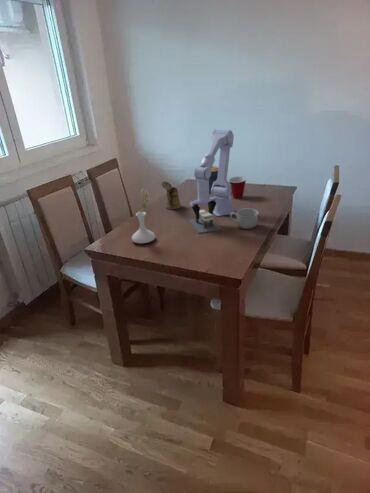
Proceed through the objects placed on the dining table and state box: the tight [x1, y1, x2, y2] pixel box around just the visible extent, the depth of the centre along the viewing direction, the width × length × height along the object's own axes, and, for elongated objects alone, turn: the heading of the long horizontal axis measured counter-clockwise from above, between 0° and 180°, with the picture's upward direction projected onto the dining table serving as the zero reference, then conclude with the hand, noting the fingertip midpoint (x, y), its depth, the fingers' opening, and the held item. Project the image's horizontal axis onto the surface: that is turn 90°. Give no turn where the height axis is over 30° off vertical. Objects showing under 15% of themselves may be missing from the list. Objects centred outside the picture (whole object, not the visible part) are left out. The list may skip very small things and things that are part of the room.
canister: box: [209, 165, 221, 194], centre depth 237 cm, size 13×13×18 cm
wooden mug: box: [160, 181, 182, 211], centre depth 210 cm, size 9×14×18 cm, turn 157°
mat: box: [188, 218, 222, 235], centre depth 188 cm, size 18×12×1 cm, turn 15°
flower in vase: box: [131, 187, 156, 244], centre depth 171 cm, size 13×11×25 cm
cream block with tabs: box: [194, 209, 214, 228], centre depth 187 cm, size 10×5×6 cm, turn 28°
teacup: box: [229, 207, 259, 230], centre depth 182 cm, size 14×11×8 cm
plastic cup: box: [227, 175, 247, 200], centre depth 222 cm, size 11×11×12 cm
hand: (204, 216), depth 186 cm, fingers open, 7 cm apart
